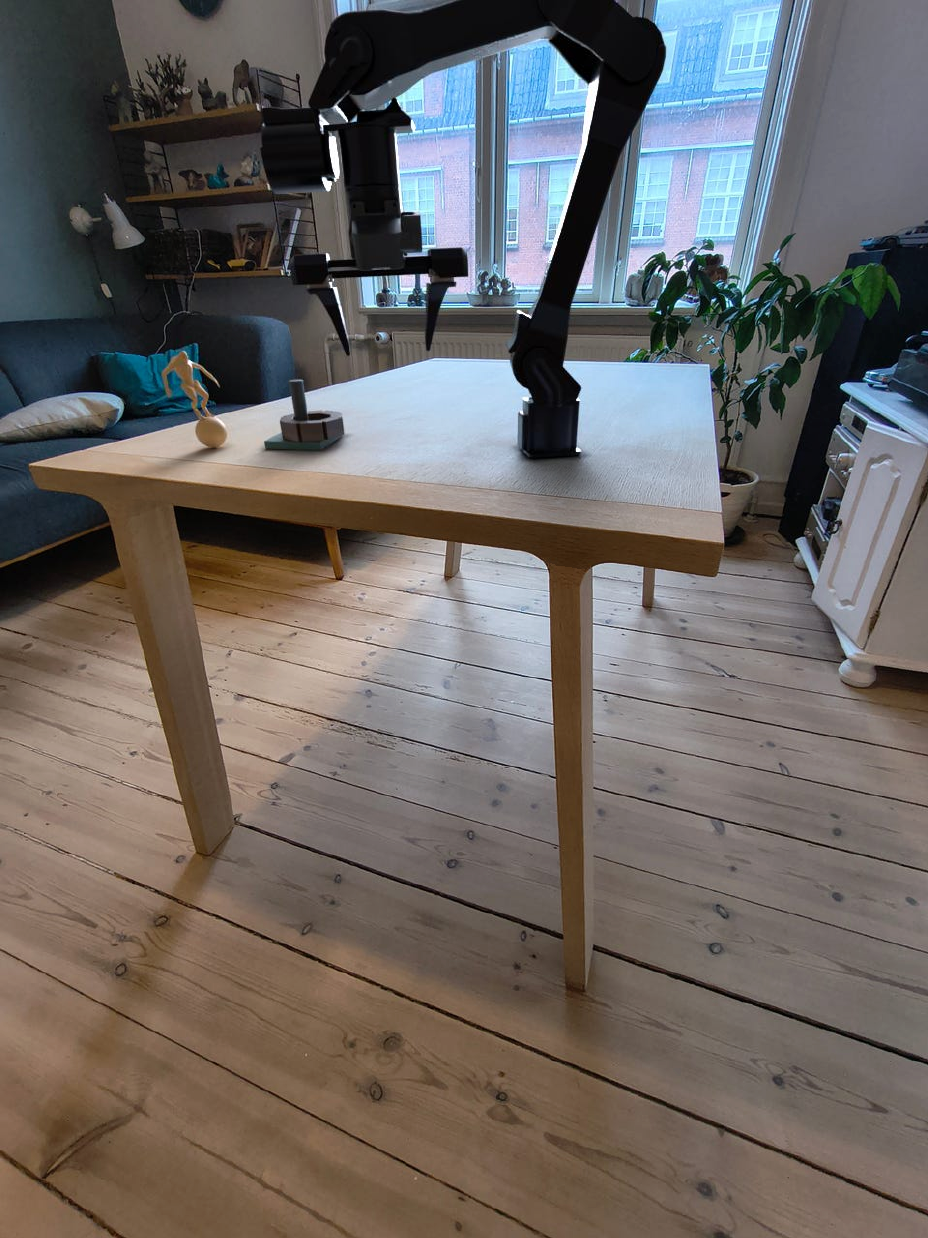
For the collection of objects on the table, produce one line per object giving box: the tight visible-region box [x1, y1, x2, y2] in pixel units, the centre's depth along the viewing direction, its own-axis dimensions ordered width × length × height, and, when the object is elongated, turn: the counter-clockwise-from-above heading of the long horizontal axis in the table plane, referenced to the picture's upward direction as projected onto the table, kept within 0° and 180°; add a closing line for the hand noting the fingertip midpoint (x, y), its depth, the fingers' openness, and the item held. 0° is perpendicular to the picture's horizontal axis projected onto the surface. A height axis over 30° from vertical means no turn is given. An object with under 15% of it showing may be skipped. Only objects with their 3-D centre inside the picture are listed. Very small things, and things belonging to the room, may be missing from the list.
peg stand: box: [263, 379, 343, 451], centre depth 80 cm, size 8×8×8 cm
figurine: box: [161, 350, 228, 448], centre depth 78 cm, size 8×6×12 cm
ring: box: [279, 410, 346, 442], centre depth 81 cm, size 8×8×2 cm
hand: (388, 353), depth 69 cm, fingers open, 9 cm apart
